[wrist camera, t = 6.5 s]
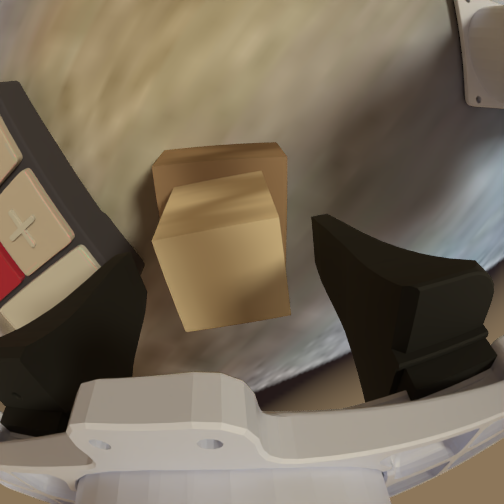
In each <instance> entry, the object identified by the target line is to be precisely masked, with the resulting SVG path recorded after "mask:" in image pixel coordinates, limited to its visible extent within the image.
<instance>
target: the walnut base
mask: <svg viewBox="0 0 504 504" xmlns="http://www.w3.org/2000/svg"><path fill="white" fill-rule="evenodd" d="M257 171H262V173H263V176H264V179H265V181H266V184H267V187H268V189H269V192H270V194H271V197H272V200H273V202H274V205H275V208H276V210H277V213H278V216H279V221H280V228H281V236H282V244H283V252H284V260H285V268H286V230H287V156H286V155H285V153H284V152H283V151H282V149H281V148H280V147H279V145H278V144H277V143H276V142H272V143H248V144H231V145H216V146H204V147H193V148H182V149H173V150H164V152H163V153H162V154H161V155H160V157H159V158H158V159H157V161H156V162H155V163H154V164H153V166H152V172H153V179H154V186H155V192H156V199H157V205H158V211H159V217H160V219H161V216H162V214H163V211H164V209H165V207H166V204H167V202H168V200H169V197H170V195H171V193H172V190H173V188H174V187H179V186H184V185H188V184H193V183H198V182H203V181H208V180H213V179H218V178H223V177H229V176H234V175H240V174H245V173H251V172H257Z"/></svg>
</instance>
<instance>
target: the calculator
mask: <svg viewBox="0 0 504 504" xmlns="http://www.w3.org/2000/svg"><path fill="white" fill-rule="evenodd" d="M126 252H131V255H132V257H133V260H134V262H135V264H136V267H137V269H138V272H139V274H140V275H141V272H142V270H143V268H144V262H143V260H142V259H141V258H140V256H139V255H138V254H137V253H136V251H135V250H134V249H133V248H132V246H131V245H130V244H129V243H128V241H127V240H126V239H125V238H124V236H123V235H122V234H121V232H120V231H119V230H118V229H117V227H116V226H115V225H114V223H113V222H112V221H111V219H110V218H109V217H108V216H107V215H106V214H105V213H103V212H102V211H101V210H100V208H99V207H98V206H97V204H96V203H95V201H94V200H93V198H92V197H91V196H90V194H89V193H88V191H87V190H86V188H85V187H84V185H83V184H82V182H81V181H80V179H79V178H78V176H77V175H76V173H75V172H74V170H73V169H72V167H71V166H70V164H69V162H68V161H67V159H66V158H65V156H64V155H63V153H62V151H61V150H60V148H59V147H58V145H57V143H56V142H55V140H54V139H53V137H52V136H51V134H50V132H49V131H48V129H47V128H46V126H45V124H44V123H43V121H42V120H41V118H40V116H39V115H38V113H37V112H36V110H35V108H34V107H33V105H32V103H31V102H30V100H29V98H28V96H27V95H26V93H25V91H24V90H23V88H22V86H21V84H20V83H19V82H18V81H9V82H0V312H1V313H2V315H3V316H4V317H5V318H6V319H7V320H8V322H9V323H10V324H11V325H12V326H13V327H14V328H15V329H16V330H17V329H19V328H21V327H22V326H24V325H26V324H28V323H30V322H31V321H33V320H35V319H36V318H38V317H39V316H41V315H42V314H44V313H45V312H47V311H49V310H50V309H51V308H53V307H54V306H55V305H57V304H58V303H60V302H61V301H62V300H63V299H65V298H66V297H67V296H68V295H70V294H71V293H72V292H73V291H74V290H75V289H77V288H78V287H79V286H80V285H81V284H82V283H84V282H85V281H86V280H87V279H88V278H89V277H90V276H91V275H92V274H94V273H95V272H96V271H97V270H98V269H99V268H100V267H101V266H103V265H104V264H105V263H106V262H107V261H108V260H110V259H111V258H112V257H114V256H115V255H117V254H121V253H126Z"/></svg>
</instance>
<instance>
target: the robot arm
mask: <svg viewBox="0 0 504 504" xmlns="http://www.w3.org/2000/svg"><path fill="white" fill-rule="evenodd" d="M454 4H455V9H456V15H457V21H458V27H459V34H460V41H461V49H462V59H463V70H464V84H465V100H466V103H467V104H468V105H470V106H473V107H488V108H500V109H504V5H501V4H498V3H495V2H493V1H490V0H467V2H466V1H465V0H454ZM476 97H477V98H478V100H477V101H476ZM311 219H312V230H313V242H314V255H315V263H316V266H317V269H318V273H319V276H320V279H321V281H322V284H323V286H324V288H325V290H326V292H327V294H328V296H329V298H330V300H331V302H332V304H333V306H334V308H335V310H336V313H337V315H338V317H339V319H340V321H341V323H342V325H343V328H344V330H345V333H346V336H347V339H348V342H349V345H350V348H351V351H352V354H353V358H354V361H355V365H356V368H357V372H358V375H359V379H360V383H361V387H362V391H363V394H364V399H365V403H362V404H359V405H355V406H351V407H347V408H343V409H333V410H316V411H261V410H260V408H259V407H258V403H257V400H256V397H255V394H254V392H253V391H252V390H251V389H250V388H249V387H248V386H247V385H246V384H245V382H244V381H242V380H240V379H237V378H234V377H231V376H229V375H226V374H223V373H220V372H199V371H194V372H185V373H175V374H165V375H153V376H141V377H132V373H133V363H134V358H135V353H136V349H137V344H138V340H139V336H140V332H141V328H142V324H143V320H144V315H145V309H146V299H147V290H146V288H145V286H144V283H143V281H142V279H141V276H140V274H139V272H138V269H137V267H136V264H135V262H134V260H133V257H132V255H131V252H126V253H121V254H117V255H115V256H114V257H112V258H111V259H110V260H108V261H107V262H106V263H105V264H104V265H103V266H101V267H100V268H99V269H98V270H97V271H96V272H95V273H94V274H92V275H91V276H90V277H89V278H88V279H87V280H86V281H85V282H84V283H82V284H81V285H80V286H79V287H78V288H77V289H75V290H74V291H73V292H72V293H71V294H70V295H68V296H67V297H66V298H65V299H63V300H62V301H61V302H60V303H58V304H57V305H55V306H54V307H53V308H51V309H50V310H49V311H47V312H45V313H44V314H42V315H41V316H39V317H38V318H36V319H35V320H33V321H31V322H30V323H28V324H26V325H24V326H22V327H21V328H19V329H17V330H15V331H13V332H11V333H9V334H6V335H4V336H2V337H0V401H1V402H2V403H3V404H4V405H5V406H6V408H5V410H4V413H2V412H1V411H0V484H2V485H4V486H5V487H7V488H10V489H12V490H15V491H18V492H20V493H23V494H25V495H28V496H31V497H33V498H36V499H39V500H42V501H45V502H48V503H51V504H391V501H390V497H392V496H395V495H397V494H400V493H402V492H404V491H407V490H409V489H411V488H414V487H416V486H418V485H420V484H422V483H424V482H427V481H429V480H431V479H433V478H435V477H436V476H439V475H441V474H443V473H445V472H447V471H449V470H450V469H452V468H454V467H456V466H458V465H460V464H461V463H463V462H465V461H466V460H468V459H470V458H472V457H473V456H475V455H477V454H478V453H480V452H482V451H483V450H485V449H487V448H488V447H490V446H492V445H493V444H495V443H496V442H498V441H499V440H501V439H502V438H504V335H503V336H501V337H499V338H498V339H496V340H495V341H494V342H493V343H492V344H491V345H490V344H489V342H488V341H487V339H486V337H487V336H488V331H487V329H486V328H485V326H484V325H483V323H484V320H485V317H486V315H487V312H488V310H489V307H490V304H491V301H492V297H493V293H494V283H493V280H492V278H491V276H490V275H489V274H488V273H487V272H486V271H485V270H484V269H483V268H482V267H481V266H480V265H479V264H478V263H477V262H476V261H475V260H463V259H450V258H443V257H436V256H431V255H426V254H421V253H417V252H413V251H409V250H406V249H402V248H399V247H396V246H393V245H390V244H388V243H385V242H382V241H380V240H378V239H375V238H373V237H371V236H369V235H367V234H364V233H362V232H360V231H358V230H356V229H355V228H353V227H351V226H349V225H347V224H345V223H343V222H342V221H340V220H338V219H336V218H334V217H332V216H330V215H328V214H324V215H318V216H313V217H311Z"/></svg>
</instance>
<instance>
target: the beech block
mask: <svg viewBox="0 0 504 504" xmlns="http://www.w3.org/2000/svg"><path fill="white" fill-rule="evenodd" d="M152 244H153V246H154V249H155V252H156V255H157V258H158V261H159V263H160V266H161V269H162V272H163V274H164V277H165V280H166V283H167V285H168V288H169V291H170V293H171V296H172V298H173V301H174V303H175V306H176V309H177V311H178V314H179V316H180V319H181V321H182V324H183V326H184V328H185V331H186V332H190V331H197V330H204V329H211V328H218V327H224V326H231V325H237V324H243V323H249V322H255V321H261V320H266V319H272V318H278V317H283V316H288V315H291V311H290V302H289V293H288V285H287V276H286V268H285V260H284V252H283V244H282V236H281V228H280V221H279V216H278V213H277V210H276V208H275V205H274V202H273V200H272V197H271V194H270V192H269V189H268V187H267V184H266V181H265V179H264V176H263V173H262V171H257V172H251V173H245V174H240V175H234V176H229V177H223V178H218V179H213V180H208V181H203V182H198V183H193V184H188V185H184V186H179V187H174V188H173V190H172V193H171V195H170V197H169V200H168V202H167V204H166V207H165V209H164V211H163V214H162V216H161V219H160V221H159V224H158V226H157V229H156V231H155V234H154V236H153V239H152Z"/></svg>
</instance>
